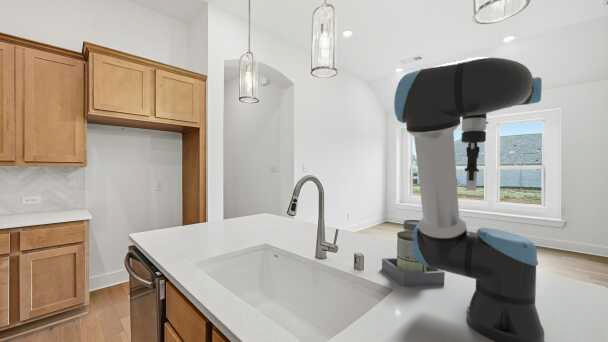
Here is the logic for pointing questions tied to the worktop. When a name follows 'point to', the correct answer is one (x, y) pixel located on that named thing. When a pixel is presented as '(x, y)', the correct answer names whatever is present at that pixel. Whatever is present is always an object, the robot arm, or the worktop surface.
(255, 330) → the worktop surface
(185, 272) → the worktop surface
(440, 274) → the housing tray
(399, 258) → the coffee can
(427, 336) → the worktop surface
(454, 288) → the worktop surface
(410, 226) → the reusable coffee cup
